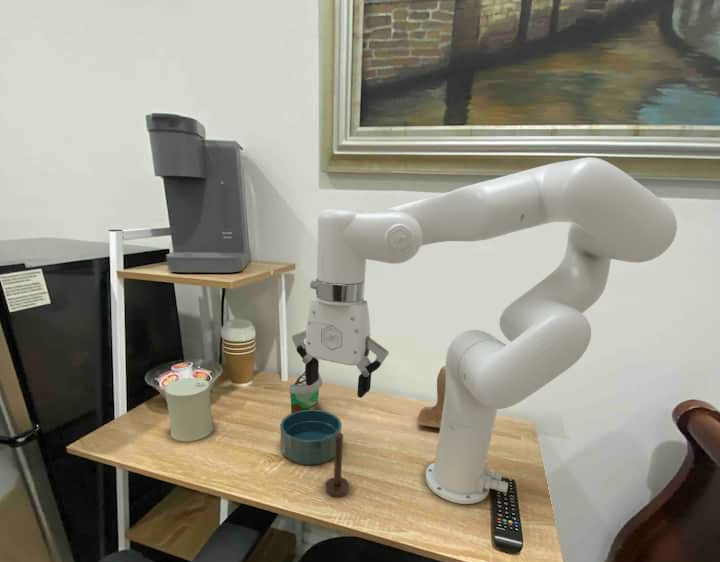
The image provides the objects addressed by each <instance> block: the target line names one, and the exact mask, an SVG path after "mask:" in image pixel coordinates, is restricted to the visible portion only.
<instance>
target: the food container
mask: <svg viewBox="0 0 720 562" xmlns="http://www.w3.org/2000/svg"><path fill="white" fill-rule="evenodd" d="M322 385H323V379H322V376H321V374H320V372H319V373H318V380H317V381H316V382H315V383H313V384H312V385H310V386H309V385H307V378H306V377H305V371H304V372H303V373H302V374H301V375H300V376H299V377H298V378H297V379H296V381H295V382H294V383H293V384H289V394H290V408H291V410H290V411H291V412H290V413H291V414H292V413H294V412H298V411H302V410H318V406H319V395H320V394H319V393H320V388H321V387H322Z"/></svg>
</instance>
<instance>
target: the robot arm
mask: <svg viewBox="0 0 720 562" xmlns="http://www.w3.org/2000/svg"><path fill="white" fill-rule="evenodd" d="M550 223H568V224H569V223H570V225H569V229H568V233H567V243H566V249H565V253H564V256H563V258H562V261H561V262H560V264H559V265H558V266H557V267H556V268H555V269H554V270H553V271H552V272H551V273H550V274H548V275H547V276H546V277H545V278H543V279H541V281H539V282H538V283H537V284H535V285H533V287H532V288H530V289H528V290H527V291H526V292H524V293H523V294H522V295H520V296H519V297H518V298H516V299H515V300H514V301H512V302H511V303H510V304H509V305H508V306H506V307H505V309H503V311H502V313H501V315H500V317H499V329H500V331H501V333H502V335H503V336H504V337H505V338H506V339H507V340H508V341H509V343H507V344H505V343H504V342H502V341H501V340H500V339H498V338H497V337H496V336H494V335H492V334H491V333H489V332H486V331H484V330H480V329H469V330H465V331H462V332H460V333H459V334H457V335H456V336H455V337H454V338H453V339H452V341H451V342H450V344H449V346H448V348H447V352H446V354H445V355H446V356H445V366H446V387H445V398H444V405H443V412H442V419H441V426H440V428H439V435H438V440H437V448H436V455H435V461H434V462H431V463H430V464H429V465H428V466H427V467H426V471H425V478H424V479H425V483H426V484H427V486H428V487H429V489H430V490H431V491H432V492H433V493H434V494H435V495H437V496H438V497H440V498H441V499H443V500H446V501H448V502H451V503H455V504H461V505H472V504H477V503H480V502H482V501H484V500H485V499H486V498H487V497H488V496H489V493H490V489H492V490H495V491H497V492H499V493H500V492H501V493H504V494H507V493H508V489H509V482H506V481H503V480H502V479H503V478H502V477H503V475H502V474H499V473H496V472H491V471H490V469H488V462H487V461H488V455H489V452H490V446H491V440H492V436H493V430H494V426H495V421H496V416H497V410H504V409H507V408H511V407H513V406H515V405H517V404H519V403H521V402H523V401H524V400H526V399H527V398H528V397H530V396H532V395H533V394H534V393H536V392H537V391H539V390H540V389H542V388H543V387H545V386H546V385H548V384H549V383H551V382H552V381H553V380H555V379H556V378H557V377H559V376H560V375H562V374H563V373H565V372H566V371H567V370H569V369H570V368H571V367H572V366H574V365H575V364H576V363H577V362H578V361H579V360H580V359H581V358H582V357H583V355H584V354H585V352H586V351H587V350H588V347H589V345H590V342H591V339H592V328H591V325H590V321H589V320H588V318H587V317H586V316H585V315H584V314H583V313H585V312H586V311H587V310H588V309H590V308H591V307H592V306H593V305H595V303H596V302H597V301H598V300H599V299H600V298H601V296H602V295H603V293H604V291H605V289H606V287H607V282H608V278H609V272H610V266H611V262H612V261H611V260H615V261H621V262H624V263H625V262H626V263H633V264H634V263H635V264H636V263H637V264H638V263H639V264H640V263H646V262H650V261H652V260H655V259H656V258H658V257H660V256H661V255H662V254H663V253H665V252H667V250H668V249H669V247H671V245H672V244H673V242H674V241H675V238H676V236H677V231H678V230H677V229H678V227H677V226H678V225H677V224H678V223H677V219H676V216H675V213H674V211H673V210H672V208H671V206H669V205H668V204H667V203H666V202H665V201H664V200H663V199H662V198H660V197H658V196H657V195H656V194H654V193H653V192H652V191H651V190H649V189H648V188H646V187H645V186H644V185H642V184H641V183H640V182H639V181H637V180H635V178H633V177H631V175H629V174H627V173H626V172H625V171H624V170H622V169H621V168H619V167H617V166H615V165H614V164H612V163H610V162H608V161H606V160H604V159H601V158H599V157H591V156H589V157H581V158H575V159H571V160H564V161H557V162H553V163H548V164H544V165H540V166H536V167H533V168H529V169H526V170H525V169H524V170H522V171H518V172H514V173H510V174H506V175H503V176H499V177H496V178H492V179H487V180H484V181H480V182H476V183H473V184H469V185H466V186H463V187H459V188H455V189H453V190H450V191H447V192H444V193H441V194H438V195H434V196H429V197H426V198H422V199H419V200H415V201H411V202H407V203H403V204H399V205H396V206H391V207H388V208H385V209H381V210H378V211H377V212H363V211H362V210H358V209H346V208H325V209H323V210H321V211H320V213H319V215H318V218H317V264H316V265H317V266H316V267H317V269H316V271H317V272H316V279H315V280H311V281H310V282H309V287H310V289H312V290H315V295H316V296H313V297H312V298H311V301H310V305H309V310H308V315H307V321H306V329H305V330H303V331H300V332H298V333H295V334H293V335H292V336H291V339H292V342H293V343H294V346H295V347H296V352H297V354H298V355H299V356H300V357H301V359H302V360H301V361H302V363H303V364H305V367H304V372H305V377H306V378H307V385H309V386H310V385H312V384H313V383H315V382H316V381H317V380H318V373H319V374H320V372H319V371H320V370H319V369H320V367H319V363H320V362H319V361H320V360H322V361H327V362H331V363H336V364H341V365H346V366H356V367H357V369H358V370H359V372H360V373H359V375H358V378H357V381H358V382H357V394H356V396H357V397H358V398H360V399H362V398H363V397H364V396H365V395H366V394H367V393H369V392H370V390H371V385H372V383H371V382H372V374H373V373H374V372H375V371H377V370H378V369H380V367H381V366H382V365H383V363H384V362H385V361H386V359H387V357H388V356H389V355H390V353H389V351H388V350H387V349H386V348H385V347H384V346H382V345H381V344H379V343H378V342H377V341H375V340H373V339H372V338H371V321H370V310H369V304H368V301H367V300H365V284H366V269H367V268H366V267H367V260H369V261H375V262H381V263H385V264H392V265H393V264H394V265H396V264H402V263H406V262H408V261H409V260H411V259H413V258H414V257H415V256H416V255H417V254H418V252H419V251H420V248H421V247H422V246H427V245H431V244H437V243H444V242H480V241H486V240H491V239H495V238H498V237H501V236H505V235H508V234H512V233H515V232H520V231H522V230H526V229H531V228H532V229H533V228H535V227H539V226H543V225H547V224H550ZM370 352H372V353H373V355H374V354H375V355H376V358H375V359H374V361H373V362H372V361H371V360H370V358H369V355H370Z"/></svg>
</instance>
